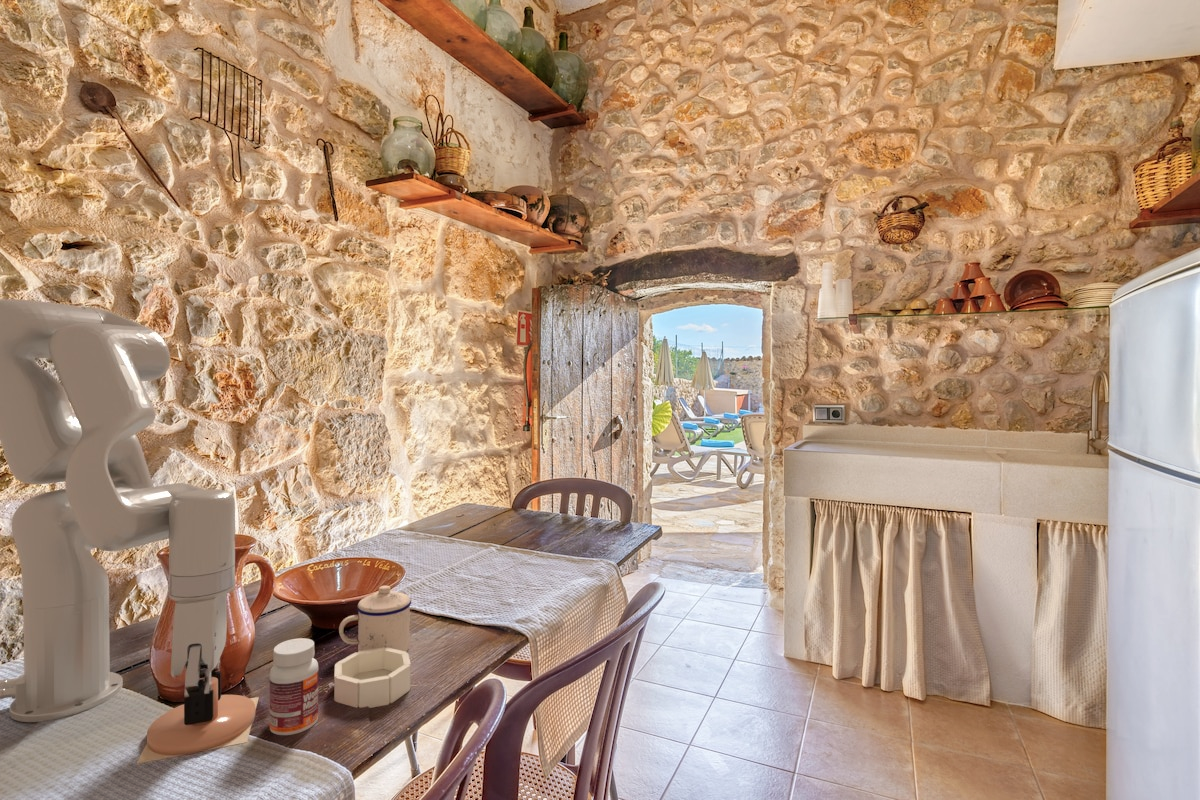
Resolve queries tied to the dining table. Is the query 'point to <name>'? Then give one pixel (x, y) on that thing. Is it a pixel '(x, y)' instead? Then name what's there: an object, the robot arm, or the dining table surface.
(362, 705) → the bowl
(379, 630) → the teacup with lid
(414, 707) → the dining table surface
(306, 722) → the pill bottle
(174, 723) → the lid
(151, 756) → the mat
